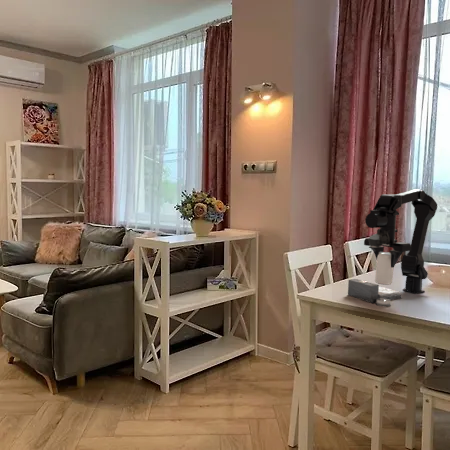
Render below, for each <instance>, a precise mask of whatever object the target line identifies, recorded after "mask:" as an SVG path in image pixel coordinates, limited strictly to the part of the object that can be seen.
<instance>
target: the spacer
mask: <svg viewBox="0 0 450 450" xmlns="http://www.w3.org/2000/svg"><path fill="white" fill-rule="evenodd" d="M375 304H376V306H379V307H391V300H389V299H384V298H378V299H376V302H375Z"/></svg>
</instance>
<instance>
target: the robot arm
mask: <svg viewBox="0 0 450 450" xmlns="http://www.w3.org/2000/svg"><path fill="white" fill-rule="evenodd" d="M407 203H408V204H409V203H411V205H412V207H413V208H414V209H413V213H414V215H415V218H416V219H415V225H414V229H413V234H412V238H411V242H410V243H409V242H403V241H402V242H401V241H399V242H398V240H397V239H396V233H398V229H396V222H397V216H399V215H400V212H399V211H398V210H399V209H400V208H401V207H402V205H404V204H407ZM437 210H438V204H437V202H436V200H435V199H434V198H433V197H432V196H430V195H429V194H427V192H426V191H425V190H423V189H411V190H407V191H404V192H401V193H397V194H385V193H384V194H381V195H380V196H379V198H378V200H377V202H376V203H375V206H373V209H371V210H370V211H369V213H368V214H367V215H366V216H365V220H364V221H365V224H366V226H367V228H369V229H377V230H376V233H374V234H373V235H371V236H369V237H366V238H365V239H364V240H363V241H364V242H363V245H364V246H368V248H369V249H371V250H372V251H373V252H374V256H375V259H376V261H377V257H378V255H379V252H384V249H385V248H386V247H387V248H392V249H391V250H389V253H391V267H392V268H393V267H395V266H396V265H397V262H398V261H399V259H400V257H401V256H402V259H401V263H400V270H401V275H402V276H403V277H406V278H405V285H404V286H405V288H402V291H404V292H408V293H411V294H420V293H425V290H423V280H426V279H427V277H428V271H427V269H426V268H425V267H424V265H425V260H424V258H423V250H424V245H425V240H426V237H427V232H428V228H429V223H430V221H431V220H433V218H434V217H435V215H436V212H437ZM405 252H408V253H406V254H403V253H405Z"/></svg>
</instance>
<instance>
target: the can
mask: <svg viewBox="0 0 450 450" xmlns="http://www.w3.org/2000/svg"><path fill="white" fill-rule="evenodd" d="M375 267H376V268H375V279H374V282H375V284H376V283H377V285H385V286H390V285H392V283H393V279H394V267H395V266H394V267H393V268H392V267H391V253H390V252H388V251H383V252H379V255H378V257H377V260H376V265H375Z"/></svg>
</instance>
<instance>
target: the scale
mask: <svg viewBox="0 0 450 450" xmlns="http://www.w3.org/2000/svg"><path fill="white" fill-rule="evenodd" d="M347 285H348V286H347V287H348V288H347V296H350V297H353V298H356V299H359V300H362V301H365V302H369V303H371V304H373V303H375V304H376V299H378V298H384V299H389V300H390V301H391V300H392V301H393V300H398V299H399V300H400V299H401V298H402V294H401V293H399V294H395V295H388V296H382V297H379V296H378V290H379V285H380V284H378V283H377V284H376V283H372V282H369V281H367V280H362V279H359V278H351V279H348V284H347Z"/></svg>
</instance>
